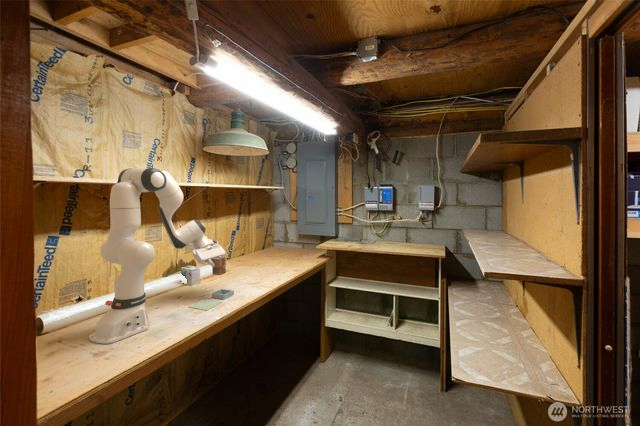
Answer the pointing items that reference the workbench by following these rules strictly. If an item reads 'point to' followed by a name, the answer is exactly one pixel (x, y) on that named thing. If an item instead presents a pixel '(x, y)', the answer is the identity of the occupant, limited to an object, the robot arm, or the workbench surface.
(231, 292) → the gray square frame
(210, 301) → the rubber mat
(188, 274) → the light bulb box
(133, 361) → the workbench surface
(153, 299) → the workbench surface
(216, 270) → the walnut block
